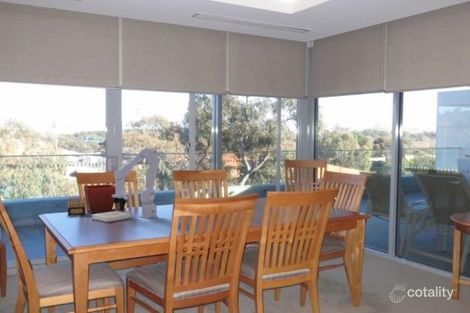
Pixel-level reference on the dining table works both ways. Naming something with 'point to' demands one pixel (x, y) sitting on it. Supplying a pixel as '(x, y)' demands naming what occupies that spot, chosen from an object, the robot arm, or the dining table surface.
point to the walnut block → (118, 207)
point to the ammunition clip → (72, 207)
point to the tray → (111, 216)
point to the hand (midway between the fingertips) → (119, 209)
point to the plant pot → (99, 197)
